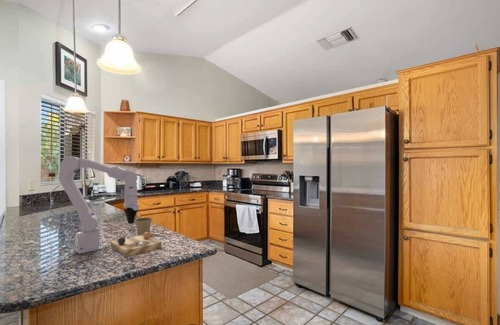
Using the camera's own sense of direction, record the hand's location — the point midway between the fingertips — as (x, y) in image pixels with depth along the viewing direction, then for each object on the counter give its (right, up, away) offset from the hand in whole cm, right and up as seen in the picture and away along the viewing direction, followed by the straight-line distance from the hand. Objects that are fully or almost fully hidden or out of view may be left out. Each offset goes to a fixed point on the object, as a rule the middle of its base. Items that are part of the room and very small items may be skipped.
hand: (130, 223), depth 127 cm
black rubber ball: (-1, -6, -8) cm, 10 cm away
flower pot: (-1, -11, +18) cm, 21 cm away
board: (+4, -10, -4) cm, 12 cm away
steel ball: (+8, -9, -8) cm, 14 cm away
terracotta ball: (+7, -6, +1) cm, 10 cm away
